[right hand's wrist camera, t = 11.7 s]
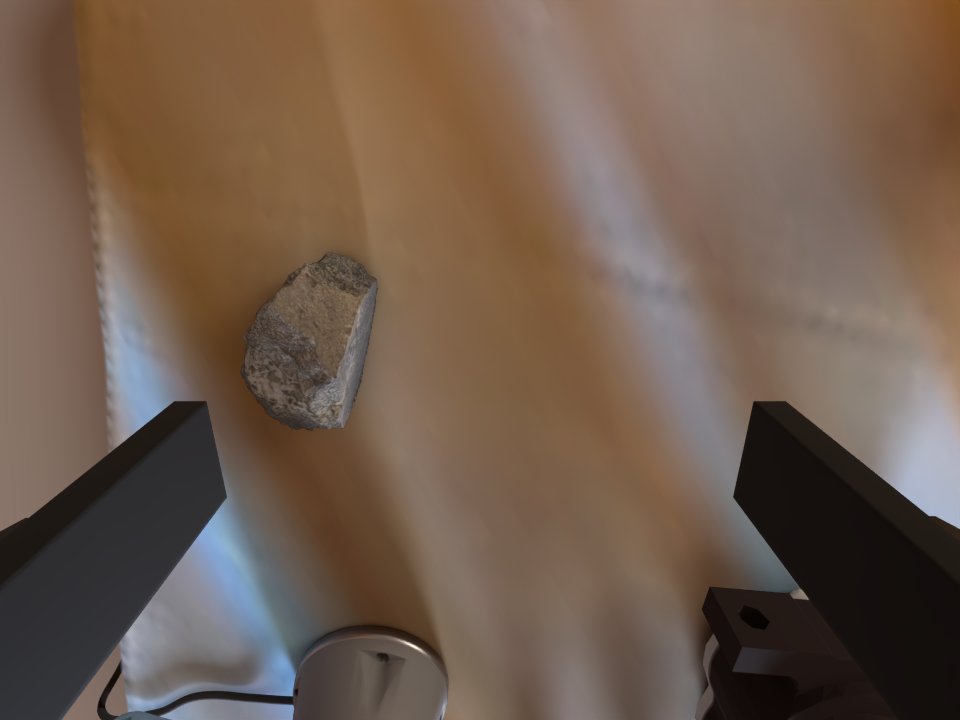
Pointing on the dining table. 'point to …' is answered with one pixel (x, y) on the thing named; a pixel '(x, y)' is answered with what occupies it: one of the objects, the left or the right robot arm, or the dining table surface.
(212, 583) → the dining table surface
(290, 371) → the rock
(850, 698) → the mechanical component
